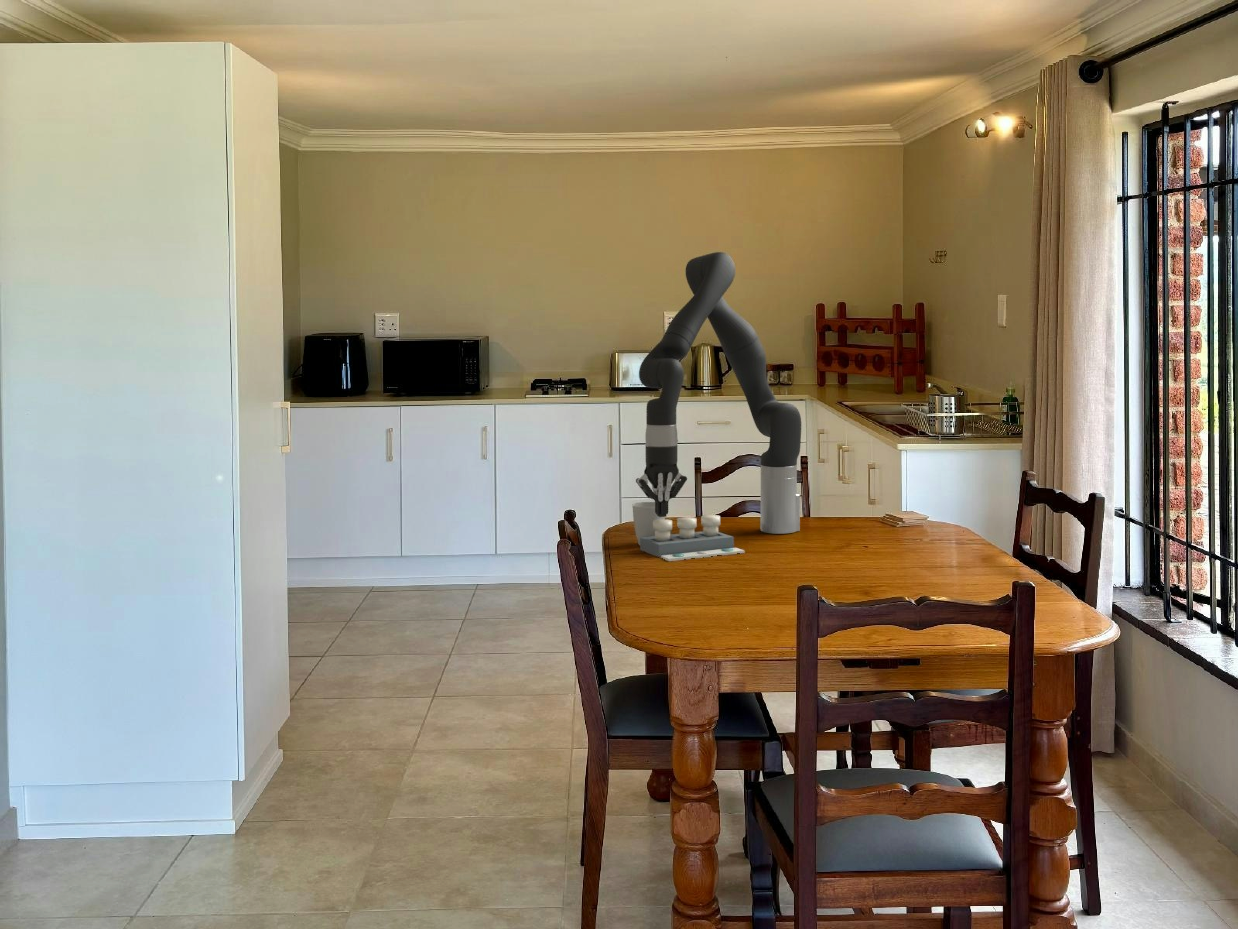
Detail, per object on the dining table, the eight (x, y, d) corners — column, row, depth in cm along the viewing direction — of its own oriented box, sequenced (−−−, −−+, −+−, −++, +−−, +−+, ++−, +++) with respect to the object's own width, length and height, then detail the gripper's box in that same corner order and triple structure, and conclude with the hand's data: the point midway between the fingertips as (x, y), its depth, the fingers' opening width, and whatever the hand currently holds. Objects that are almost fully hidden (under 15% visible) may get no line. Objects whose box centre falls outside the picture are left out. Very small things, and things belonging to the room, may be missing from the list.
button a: (714, 532, 287) (714, 514, 286) (723, 536, 283) (723, 517, 282) (697, 534, 285) (697, 515, 284) (707, 537, 281) (707, 518, 280)
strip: (735, 550, 280) (735, 546, 280) (744, 553, 277) (744, 549, 277) (661, 558, 272) (660, 554, 272) (668, 561, 268) (668, 557, 268)
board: (713, 542, 290) (713, 530, 290) (733, 549, 281) (733, 537, 281) (640, 549, 282) (640, 537, 282) (659, 557, 273) (658, 544, 273)
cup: (666, 541, 292) (666, 501, 291) (664, 548, 284) (664, 507, 283) (634, 541, 293) (633, 501, 291) (631, 547, 285) (630, 507, 283)
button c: (666, 537, 282) (666, 518, 281) (675, 540, 277) (675, 521, 277) (649, 539, 280) (649, 520, 279) (658, 542, 276) (658, 523, 275)
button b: (690, 535, 284) (690, 516, 284) (700, 538, 280) (699, 519, 280) (674, 536, 282) (673, 518, 282) (682, 540, 278) (682, 521, 278)
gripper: (679, 440, 282) (679, 512, 284) (629, 443, 276) (629, 516, 279) (694, 443, 275) (693, 516, 277) (643, 446, 270) (643, 521, 272)
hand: (661, 516), depth 278 cm, fingers closed
